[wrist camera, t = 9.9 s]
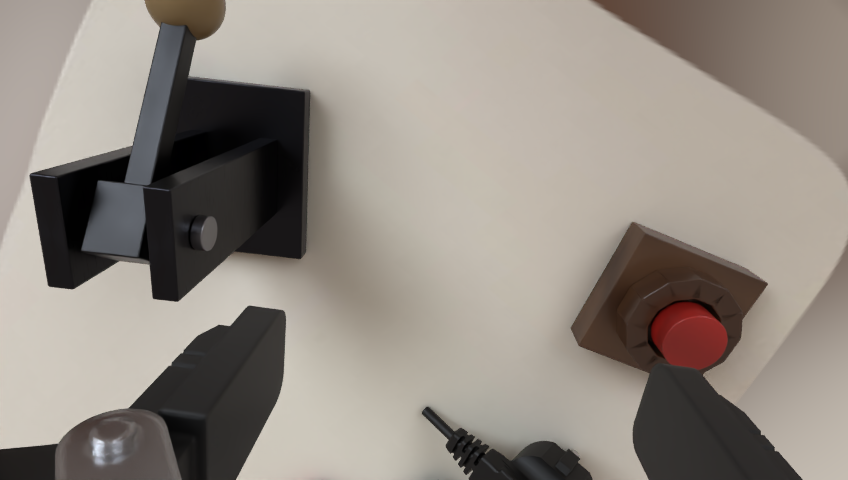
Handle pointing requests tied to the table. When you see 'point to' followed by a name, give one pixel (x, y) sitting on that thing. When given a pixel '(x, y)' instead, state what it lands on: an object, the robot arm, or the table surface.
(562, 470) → the power plug
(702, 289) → the button block
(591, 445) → the table surface
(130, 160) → the switch lever
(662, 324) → the button
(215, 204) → the switch bracket
